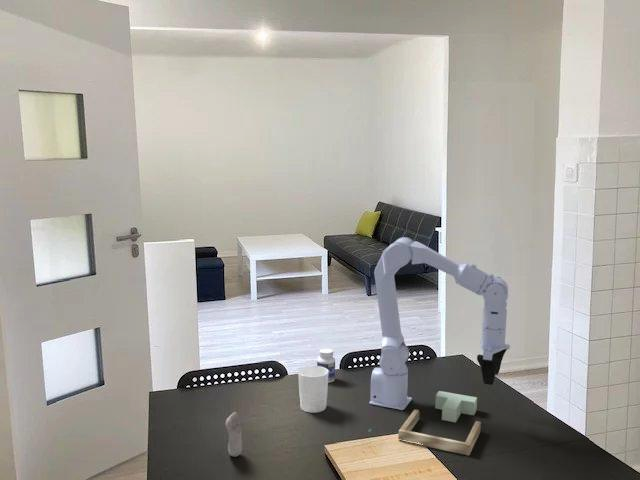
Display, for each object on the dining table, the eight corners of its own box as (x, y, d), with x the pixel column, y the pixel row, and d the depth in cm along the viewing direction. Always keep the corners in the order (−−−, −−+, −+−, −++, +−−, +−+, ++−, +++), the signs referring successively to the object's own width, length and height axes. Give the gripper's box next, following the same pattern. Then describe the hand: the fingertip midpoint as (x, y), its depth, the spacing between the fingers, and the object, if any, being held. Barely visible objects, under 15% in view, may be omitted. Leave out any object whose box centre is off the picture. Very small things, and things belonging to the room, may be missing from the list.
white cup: (325, 415, 157) (325, 377, 155) (295, 412, 158) (294, 375, 157) (330, 402, 164) (331, 366, 163) (302, 400, 166) (302, 364, 164)
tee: (429, 417, 156) (429, 404, 155) (438, 403, 164) (439, 390, 164) (468, 425, 151) (469, 411, 151) (476, 410, 160) (477, 397, 159)
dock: (398, 440, 143) (398, 430, 143) (414, 418, 155) (414, 409, 155) (469, 455, 136) (469, 445, 136) (480, 431, 148) (480, 421, 148)
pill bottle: (330, 384, 177) (330, 354, 175) (314, 381, 179) (314, 352, 178) (337, 378, 182) (338, 349, 180) (321, 375, 184) (321, 346, 182)
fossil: (227, 448, 139) (226, 406, 138) (242, 448, 139) (242, 406, 138) (225, 461, 133) (224, 418, 132) (241, 461, 134) (241, 417, 132)
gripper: (505, 336, 145) (502, 391, 147) (514, 321, 158) (512, 371, 160) (475, 332, 148) (472, 386, 150) (487, 317, 161) (484, 367, 163)
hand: (491, 378), depth 155 cm, fingers open, 7 cm apart
